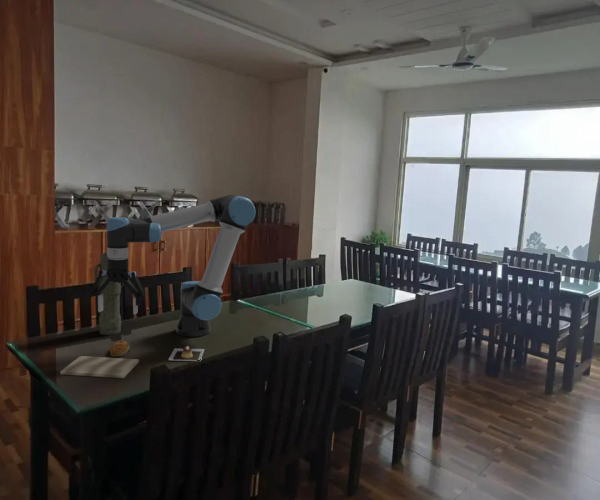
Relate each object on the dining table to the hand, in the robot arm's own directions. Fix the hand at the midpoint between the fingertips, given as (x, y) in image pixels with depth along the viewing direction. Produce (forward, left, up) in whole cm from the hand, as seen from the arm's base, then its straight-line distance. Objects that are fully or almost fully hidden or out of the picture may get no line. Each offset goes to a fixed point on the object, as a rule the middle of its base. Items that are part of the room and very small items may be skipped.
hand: (118, 312), depth 177 cm
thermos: (+13, -22, -17) cm, 31 cm away
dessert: (-27, -1, -17) cm, 32 cm away
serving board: (0, +15, -16) cm, 22 cm away
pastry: (0, 0, -17) cm, 17 cm away
